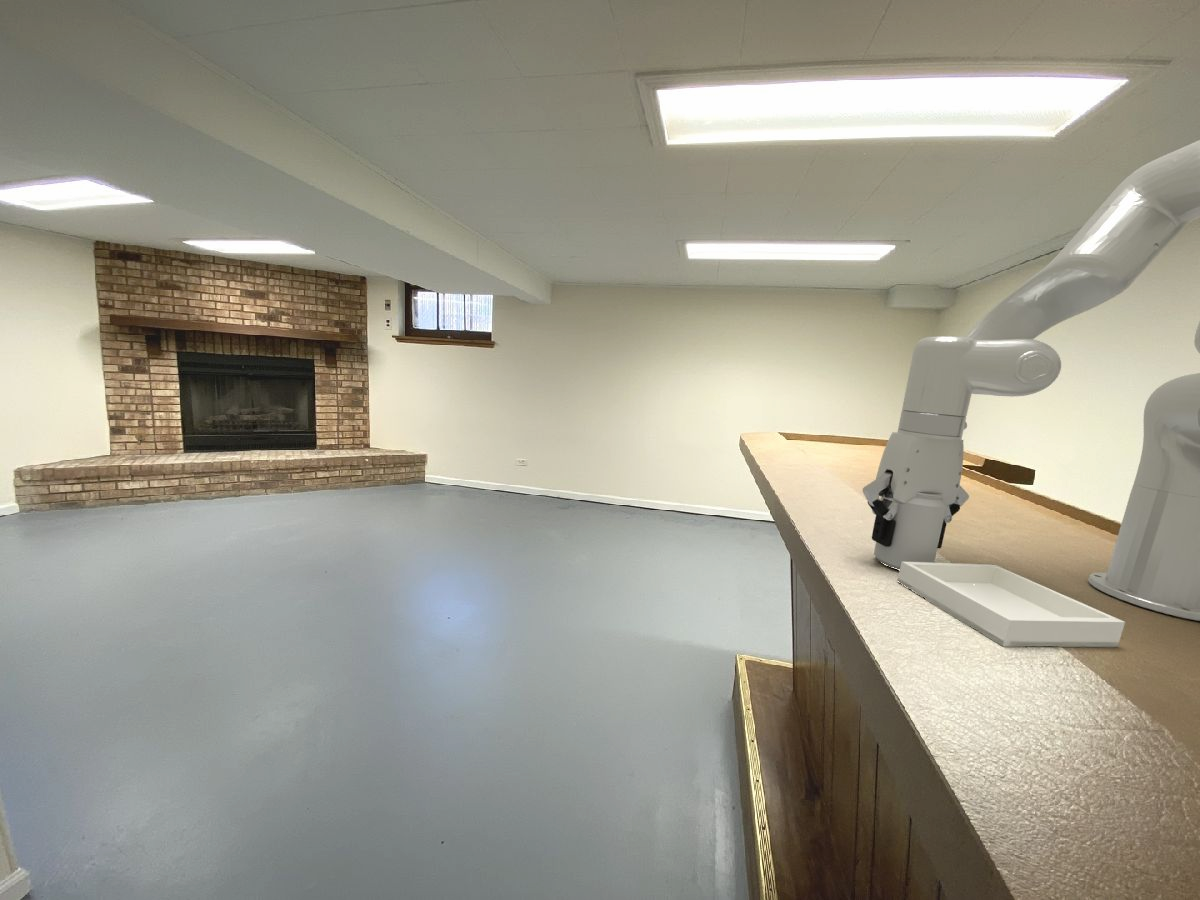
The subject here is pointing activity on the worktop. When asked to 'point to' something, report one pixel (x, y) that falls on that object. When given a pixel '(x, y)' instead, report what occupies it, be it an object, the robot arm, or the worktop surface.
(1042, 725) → the worktop surface
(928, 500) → the can
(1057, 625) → the tray
